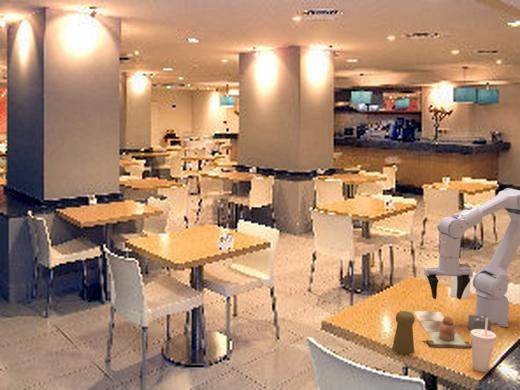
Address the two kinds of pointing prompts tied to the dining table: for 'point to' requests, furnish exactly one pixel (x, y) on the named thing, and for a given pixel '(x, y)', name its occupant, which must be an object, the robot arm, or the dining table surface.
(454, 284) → the can
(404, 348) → the olive brown pawn
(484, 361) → the smoothie
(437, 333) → the game board
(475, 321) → the die
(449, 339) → the pawn
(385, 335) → the dining table surface
